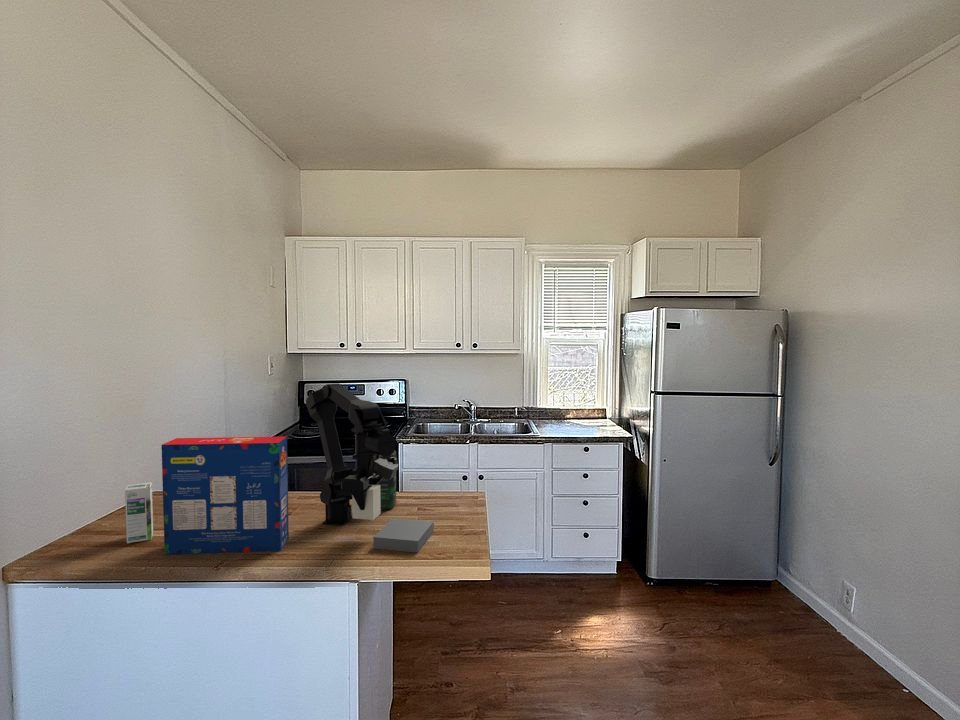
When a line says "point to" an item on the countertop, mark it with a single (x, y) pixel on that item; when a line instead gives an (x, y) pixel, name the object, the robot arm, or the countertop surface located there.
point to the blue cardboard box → (225, 495)
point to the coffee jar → (388, 488)
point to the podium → (404, 535)
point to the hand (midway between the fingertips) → (366, 506)
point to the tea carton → (368, 505)
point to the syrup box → (139, 512)
